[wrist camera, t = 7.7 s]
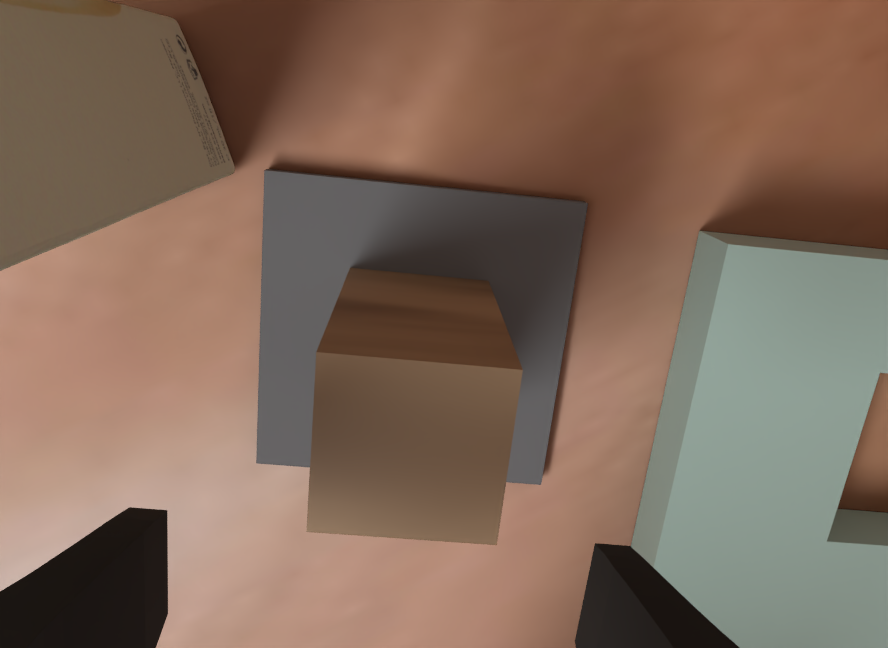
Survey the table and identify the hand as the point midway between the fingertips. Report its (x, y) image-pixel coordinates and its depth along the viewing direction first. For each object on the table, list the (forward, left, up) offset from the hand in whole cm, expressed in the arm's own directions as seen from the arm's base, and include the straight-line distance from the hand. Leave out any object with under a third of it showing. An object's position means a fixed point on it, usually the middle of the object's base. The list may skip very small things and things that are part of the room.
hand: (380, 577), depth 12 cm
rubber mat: (+1, 0, -10) cm, 10 cm away
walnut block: (+1, 0, -10) cm, 10 cm away
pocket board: (-3, -15, -10) cm, 19 cm away
